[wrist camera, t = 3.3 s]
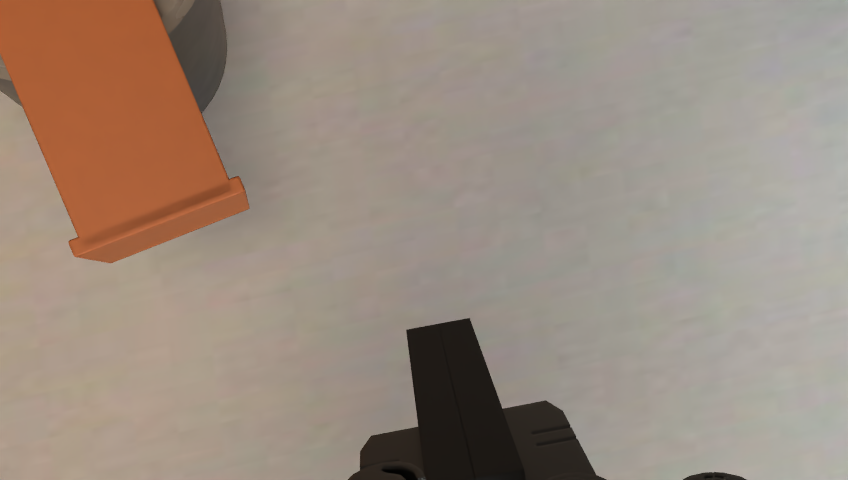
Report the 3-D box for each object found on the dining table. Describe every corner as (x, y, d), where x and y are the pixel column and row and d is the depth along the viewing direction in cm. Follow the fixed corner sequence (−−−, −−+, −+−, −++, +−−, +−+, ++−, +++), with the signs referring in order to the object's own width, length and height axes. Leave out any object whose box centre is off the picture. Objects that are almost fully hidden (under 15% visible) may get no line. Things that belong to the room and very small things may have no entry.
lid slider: (250, 208, 27) (245, 191, 22) (109, 263, 26) (74, 257, 21) (130, -74, 27) (100, -152, 22) (-15, -30, 26) (-79, -101, 21)
